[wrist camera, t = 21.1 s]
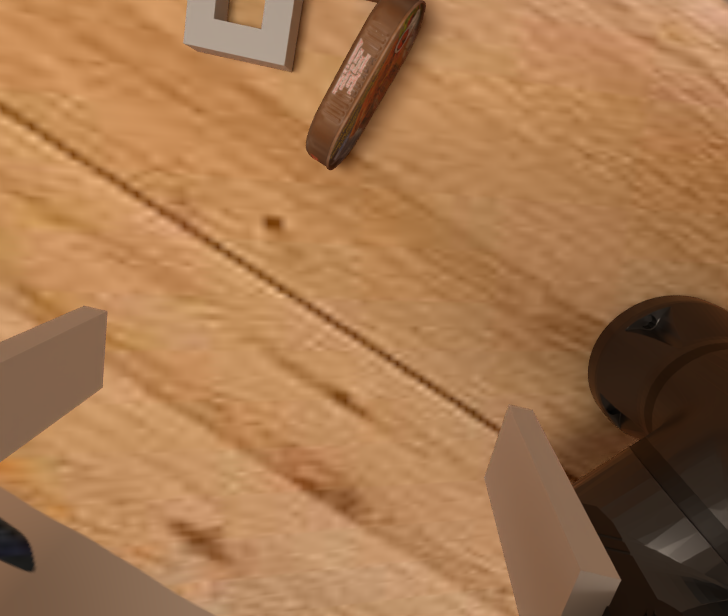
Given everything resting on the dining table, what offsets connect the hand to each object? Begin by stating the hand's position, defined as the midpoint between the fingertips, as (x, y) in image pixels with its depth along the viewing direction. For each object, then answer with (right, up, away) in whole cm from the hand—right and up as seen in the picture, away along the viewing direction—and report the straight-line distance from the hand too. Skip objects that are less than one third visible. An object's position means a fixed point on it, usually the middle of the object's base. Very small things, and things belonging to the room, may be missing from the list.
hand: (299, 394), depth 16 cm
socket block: (-8, +30, +28) cm, 42 cm away
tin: (+2, +23, +30) cm, 38 cm away
